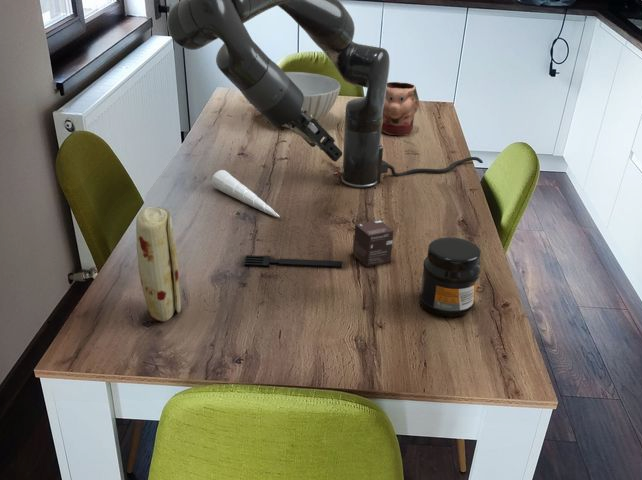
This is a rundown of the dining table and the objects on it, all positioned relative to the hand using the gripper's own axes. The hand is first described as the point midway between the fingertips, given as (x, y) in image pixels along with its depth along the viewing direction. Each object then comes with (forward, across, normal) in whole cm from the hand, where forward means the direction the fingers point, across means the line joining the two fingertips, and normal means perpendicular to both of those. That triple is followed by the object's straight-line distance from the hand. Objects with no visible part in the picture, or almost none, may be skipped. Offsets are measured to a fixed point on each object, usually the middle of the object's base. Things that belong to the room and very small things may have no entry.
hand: (327, 150), depth 130 cm
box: (+26, 0, +9) cm, 28 cm away
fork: (+15, +5, +20) cm, 26 cm away
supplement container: (+29, -22, +7) cm, 37 cm away
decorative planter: (+63, +70, -29) cm, 98 cm away
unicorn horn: (+18, +38, +18) cm, 45 cm away
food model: (-6, -2, +42) cm, 43 cm away
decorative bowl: (+44, +88, -10) cm, 99 cm away
